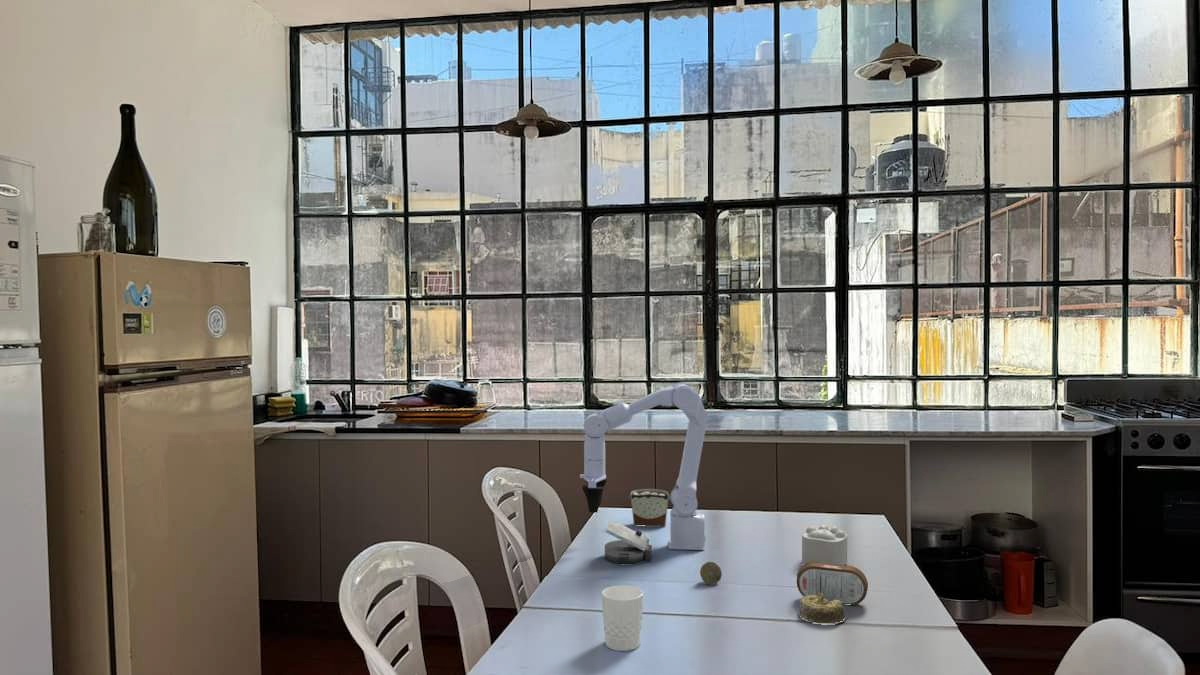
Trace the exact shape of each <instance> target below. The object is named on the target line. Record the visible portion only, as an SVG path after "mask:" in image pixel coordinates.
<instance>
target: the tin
mask: <svg viewBox="0 0 1200 675" xmlns="http://www.w3.org/2000/svg"><path fill="white" fill-rule="evenodd" d="M796 574H797V575H796V587H797V590H798V591H799V593H800V595H802V597H804V596H807V595H816V596H818V594H819V593H822V594H823V596H824V599H825V600H828V601H829V602H832V601H834V600H840V601H841V602H842V604H851V605H854V606H858V605H859V604H860V603H862V602H863V601H864V600H865V598H866V596H867V594H868V589H869V583H868V580H867V577H866V575H865V573H864V572H862V571H861V570H860V568H858V567H855V566H852V565H839V564H830V563H821V562H809V563H806V564H804V565H803V564H802V566H801V567H800V568H799V569H798V571H797V573H796ZM819 595H820V594H819ZM820 596H822V595H820Z"/></svg>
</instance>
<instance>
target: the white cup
mask: <svg viewBox="0 0 1200 675" xmlns="http://www.w3.org/2000/svg"><path fill="white" fill-rule="evenodd" d="M601 598H602V599H601V601H602V618H603V622H602V623H603V632H604V643H605V646H606V647H607V648H608V649H610V650H612V651H617V652H628V651H633V650H635V649H638V648H639V647H640V645H641V636H642V635H641V632H642V631H641V630H642V628H643V627H642V624H643V622H642V621H643V605H644V603H643V602H644V591H643V590H642V589H640V588H638V587H635V586H631V585H614V586H610V587H606V588H604V589H603V590H602V591H601Z"/></svg>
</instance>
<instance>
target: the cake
mask: <svg viewBox="0 0 1200 675" xmlns="http://www.w3.org/2000/svg"><path fill="white" fill-rule="evenodd" d="M819 594H820V595H822V596H820V595H819ZM819 594H818V596H816V595H807V596H802V597H801V598H800V599H799V609H798V611H799V612H798V614H799V615H798V617H799V616H801V618H804V619H805V620H808V621H811V622H817V623H835V622H840V621H843V619H844V618H845V617H846V618H847V616H845V615H846V613H845V605H843V604H842V602H841V601H840V600H834V601H832V602H829V601H828V600H825V599H824V596H823V594H822V593H819ZM801 618H800V619H801Z"/></svg>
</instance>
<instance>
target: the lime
mask: <svg viewBox="0 0 1200 675" xmlns="http://www.w3.org/2000/svg"><path fill="white" fill-rule="evenodd" d="M699 574H700V577H701V579H702V581H703V582H704V583H705V584H706V585H708V586H712V585H717V583H719V582H720V581H721V579H722V575H723V574H722V568H721V567H720V566H719V565H718V564H717V563H715V562H714V561H706V562H705V563H704V564H702V566H701V568H700V571H699Z"/></svg>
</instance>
